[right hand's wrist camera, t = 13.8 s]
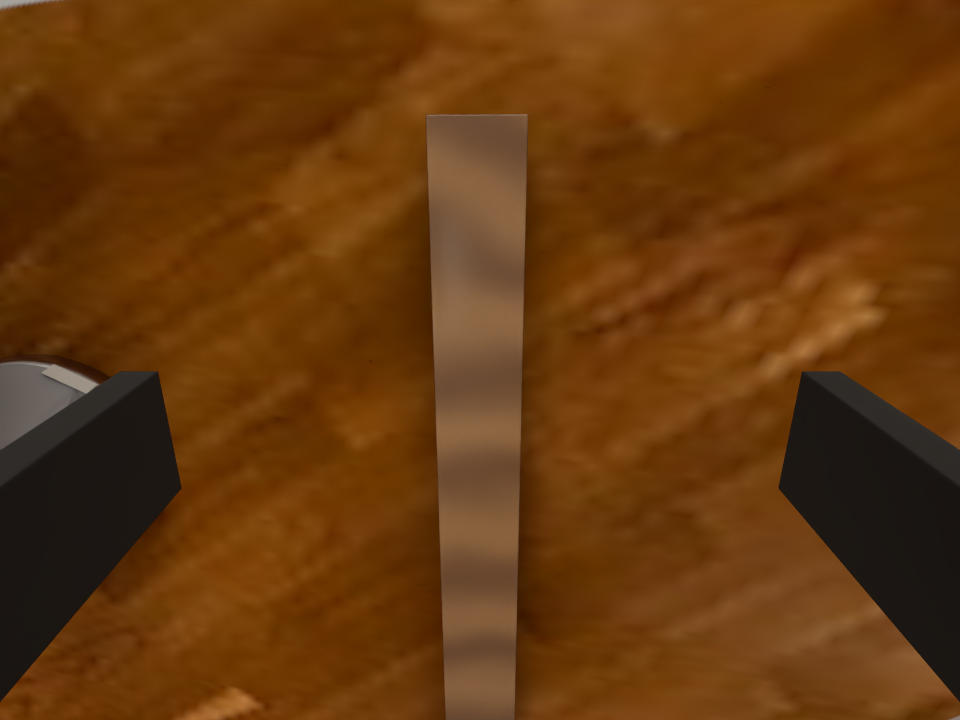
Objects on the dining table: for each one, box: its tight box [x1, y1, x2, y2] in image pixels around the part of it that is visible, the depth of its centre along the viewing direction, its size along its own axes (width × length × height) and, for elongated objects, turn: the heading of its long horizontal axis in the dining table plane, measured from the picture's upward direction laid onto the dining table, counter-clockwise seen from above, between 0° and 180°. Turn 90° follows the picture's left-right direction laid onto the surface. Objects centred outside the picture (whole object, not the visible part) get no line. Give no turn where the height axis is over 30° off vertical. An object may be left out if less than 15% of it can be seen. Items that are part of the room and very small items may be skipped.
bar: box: [426, 114, 528, 720], centre depth 43 cm, size 56×5×7 cm, turn 0°
